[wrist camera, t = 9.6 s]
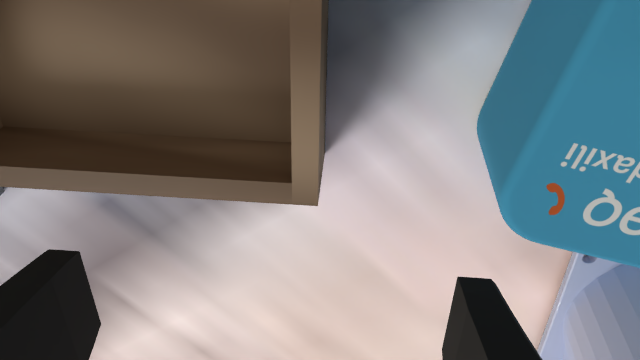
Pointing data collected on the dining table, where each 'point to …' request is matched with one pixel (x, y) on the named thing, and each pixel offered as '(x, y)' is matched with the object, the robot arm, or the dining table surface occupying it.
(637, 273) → the robot arm
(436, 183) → the dining table surface
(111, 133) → the walnut box
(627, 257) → the data package
